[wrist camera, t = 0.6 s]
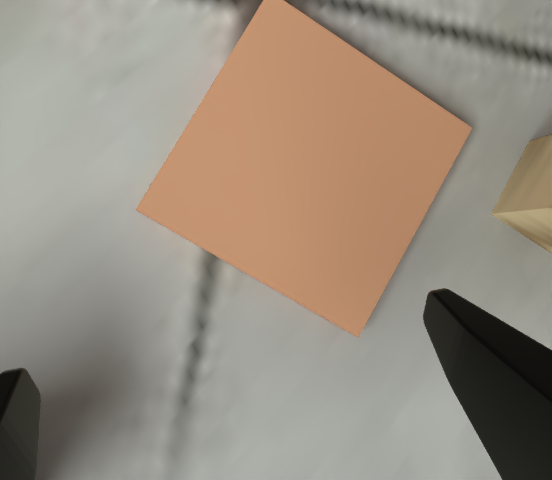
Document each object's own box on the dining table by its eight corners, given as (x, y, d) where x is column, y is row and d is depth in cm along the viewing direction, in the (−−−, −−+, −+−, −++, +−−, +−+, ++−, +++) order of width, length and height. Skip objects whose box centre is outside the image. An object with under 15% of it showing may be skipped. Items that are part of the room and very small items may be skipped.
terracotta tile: (460, 133, 27) (472, 127, 25) (350, 333, 25) (358, 337, 24) (266, 2, 25) (269, -10, 24) (138, 211, 24) (135, 209, 22)
